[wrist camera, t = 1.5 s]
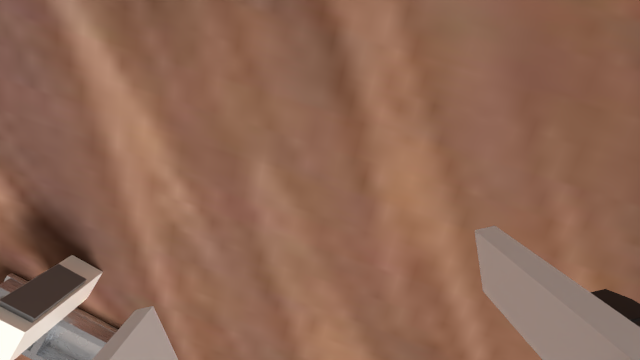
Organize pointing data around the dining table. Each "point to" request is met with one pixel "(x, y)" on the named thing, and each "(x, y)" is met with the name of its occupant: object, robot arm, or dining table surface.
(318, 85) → the dining table surface
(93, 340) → the rail
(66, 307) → the block
